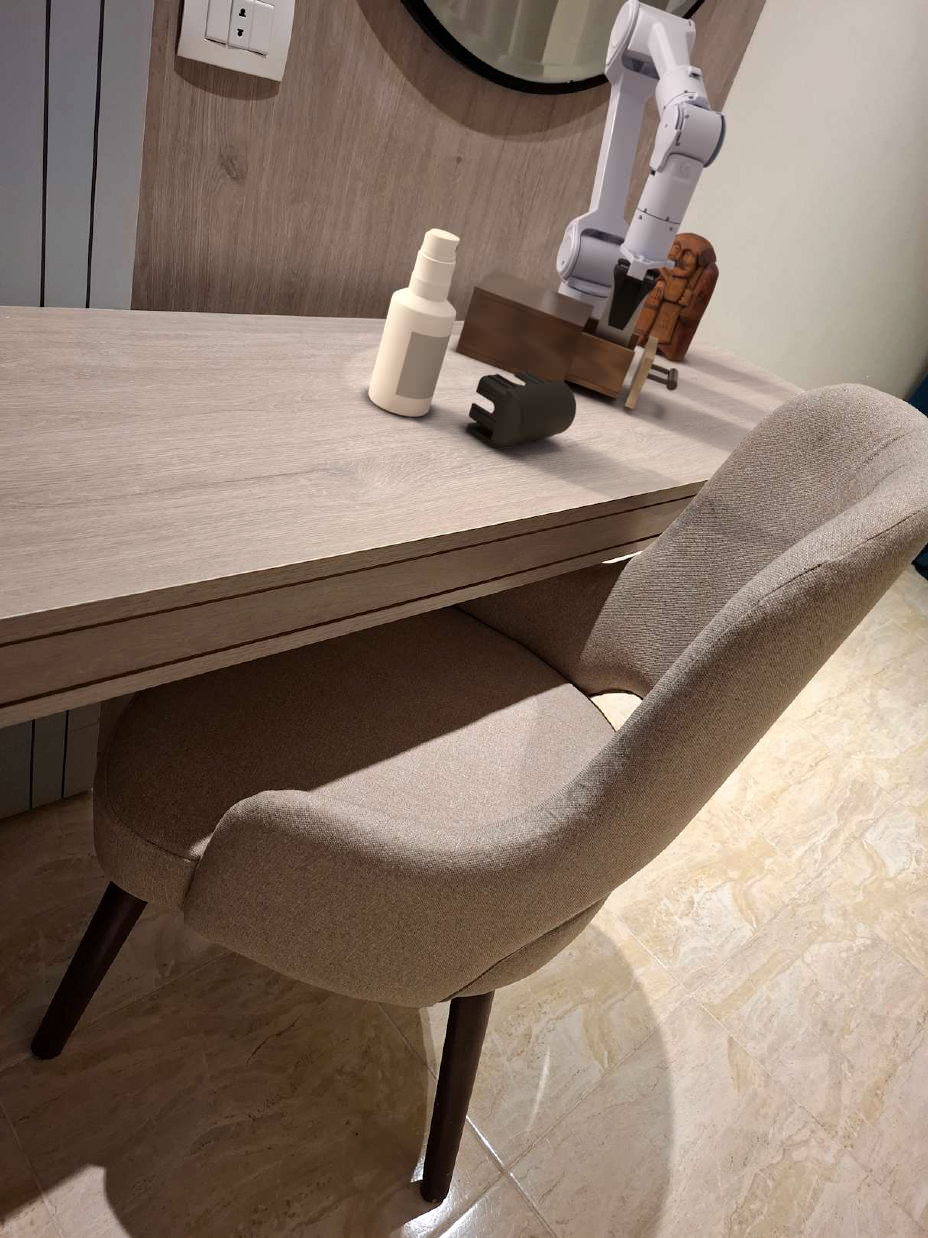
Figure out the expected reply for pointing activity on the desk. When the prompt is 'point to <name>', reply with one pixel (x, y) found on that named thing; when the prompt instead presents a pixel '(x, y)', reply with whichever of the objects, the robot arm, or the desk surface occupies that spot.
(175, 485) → the desk surface
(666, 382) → the drawer
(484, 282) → the cabinet
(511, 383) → the end cap
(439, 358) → the spray bottle
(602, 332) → the grey rectangular block
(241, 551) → the desk surface
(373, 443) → the desk surface
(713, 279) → the wooden figurine
